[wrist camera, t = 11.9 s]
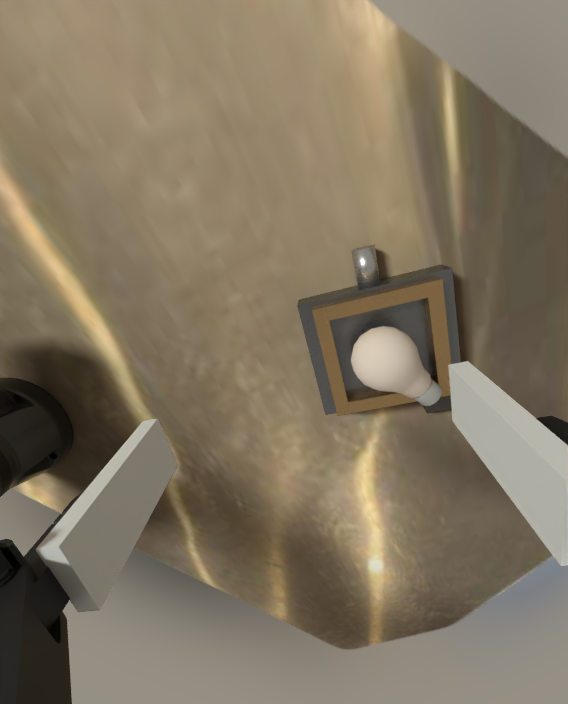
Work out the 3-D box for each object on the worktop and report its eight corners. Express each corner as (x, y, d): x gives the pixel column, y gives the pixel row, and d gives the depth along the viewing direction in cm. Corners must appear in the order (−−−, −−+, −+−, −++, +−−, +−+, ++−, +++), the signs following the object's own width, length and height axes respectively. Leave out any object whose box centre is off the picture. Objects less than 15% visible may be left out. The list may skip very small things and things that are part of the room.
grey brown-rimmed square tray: (329, 421, 44) (331, 442, 40) (290, 266, 37) (286, 271, 33) (455, 399, 41) (471, 418, 37) (437, 226, 34) (454, 226, 30)
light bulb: (474, 399, 31) (391, 332, 28) (419, 437, 34) (339, 380, 31) (450, 362, 36) (379, 303, 34) (404, 397, 39) (335, 346, 37)
